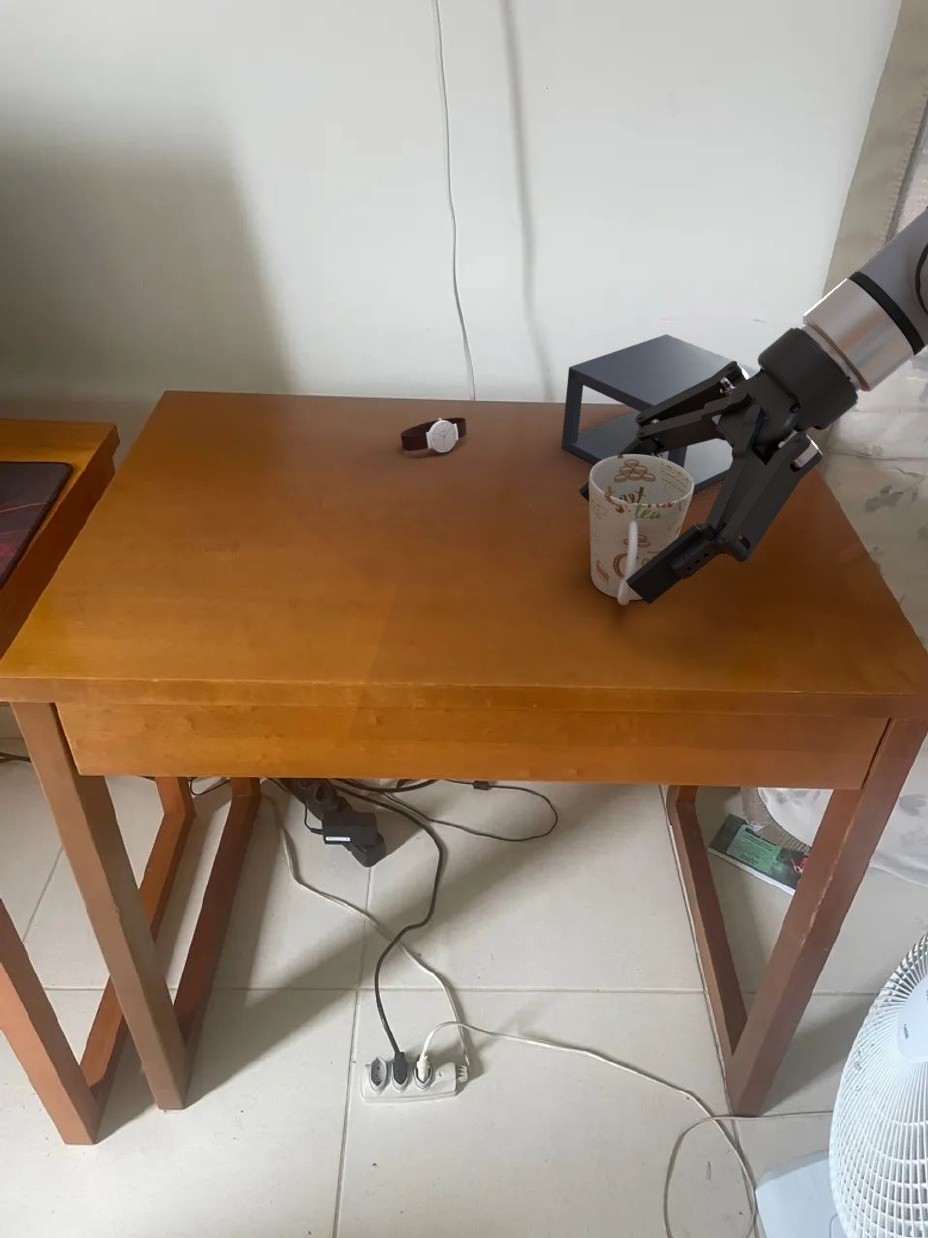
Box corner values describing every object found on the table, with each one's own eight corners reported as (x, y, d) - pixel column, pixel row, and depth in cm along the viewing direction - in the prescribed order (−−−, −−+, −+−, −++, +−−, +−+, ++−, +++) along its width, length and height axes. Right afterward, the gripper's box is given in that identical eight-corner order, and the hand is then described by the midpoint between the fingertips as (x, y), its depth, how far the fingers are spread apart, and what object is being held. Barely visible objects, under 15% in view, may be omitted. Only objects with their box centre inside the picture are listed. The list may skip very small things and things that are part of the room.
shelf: (763, 460, 103) (782, 379, 98) (669, 504, 95) (684, 419, 90) (654, 410, 112) (666, 333, 107) (560, 447, 104) (568, 366, 99)
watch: (415, 464, 100) (415, 431, 98) (390, 446, 103) (390, 414, 101) (476, 444, 104) (477, 413, 102) (450, 428, 107) (450, 397, 105)
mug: (673, 558, 88) (692, 458, 82) (678, 645, 78) (699, 539, 72) (579, 549, 88) (591, 449, 82) (572, 634, 78) (585, 528, 72)
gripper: (943, 470, 65) (691, 664, 72) (784, 330, 85) (597, 493, 92) (893, 400, 61) (631, 612, 68) (738, 270, 81) (546, 445, 88)
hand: (611, 544), depth 80 cm, fingers open, 13 cm apart
